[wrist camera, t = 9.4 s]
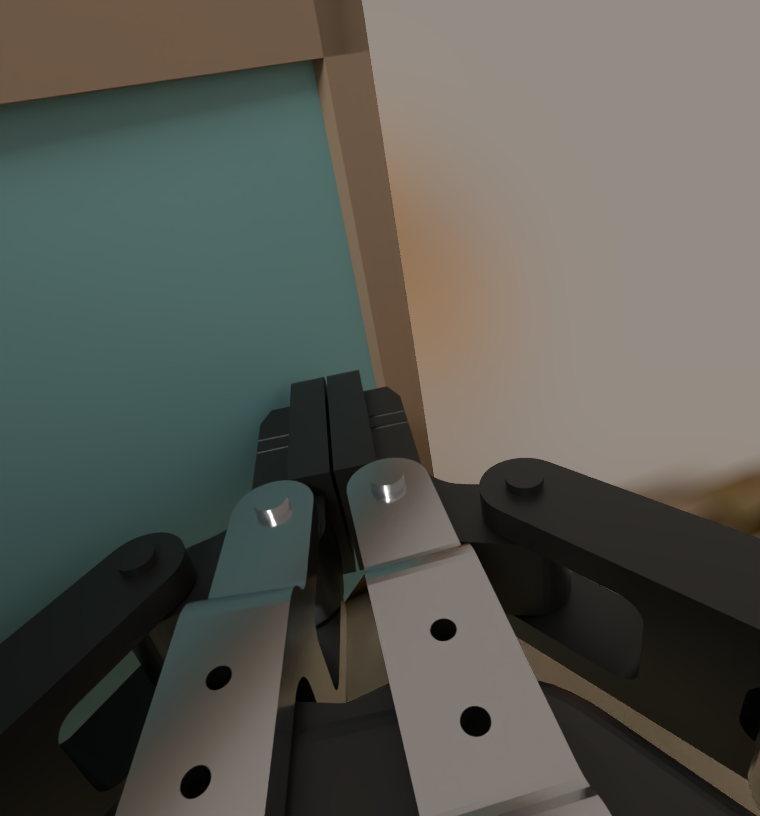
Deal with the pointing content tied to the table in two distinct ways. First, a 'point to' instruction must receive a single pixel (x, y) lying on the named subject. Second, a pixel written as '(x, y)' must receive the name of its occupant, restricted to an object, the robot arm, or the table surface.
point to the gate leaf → (177, 267)
